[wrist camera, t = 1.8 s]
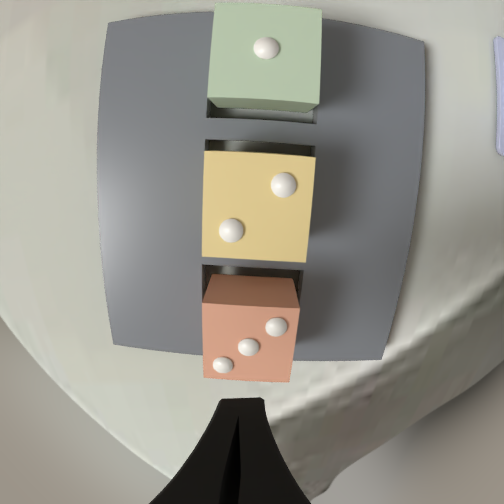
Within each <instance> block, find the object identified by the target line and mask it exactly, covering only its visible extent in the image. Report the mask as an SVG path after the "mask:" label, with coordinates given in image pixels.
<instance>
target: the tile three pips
mask: <svg viewBox="0 0 504 504" xmlns="http://www.w3.org/2000/svg"><path fill="white" fill-rule="evenodd" d="M299 313H300V306H299V302H298V298H297V294H296V290H295V286H294V282H293V278H276V277H258V276H241V275H225V274H212V275H211V278H210V281H209V284H208V287H207V290H206V293H205V295H204V298H203V301H202V337H203V371H204V378H215V379H228V380H243V381H263V382H289V380H290V374H291V367H292V361H293V354H294V348H295V341H296V334H297V327H298V320H299Z"/></svg>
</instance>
